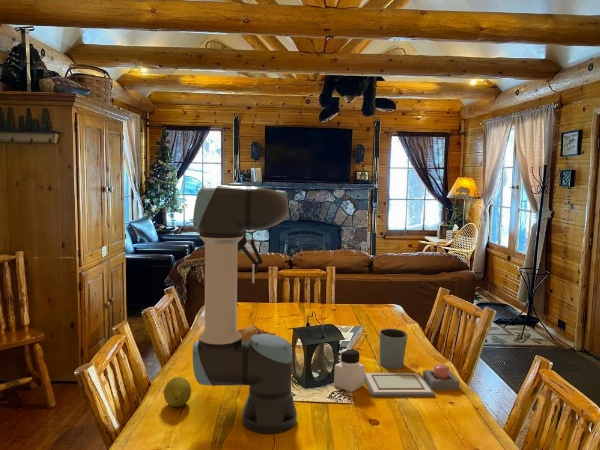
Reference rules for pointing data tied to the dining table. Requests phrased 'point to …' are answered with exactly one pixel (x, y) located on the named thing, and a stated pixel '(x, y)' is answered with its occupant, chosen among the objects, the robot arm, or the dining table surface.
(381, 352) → the grey cylindrical container
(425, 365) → the dining table surface
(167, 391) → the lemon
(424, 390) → the picture board
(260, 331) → the croissant
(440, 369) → the button
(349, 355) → the medicine bottle
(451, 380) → the button housing
